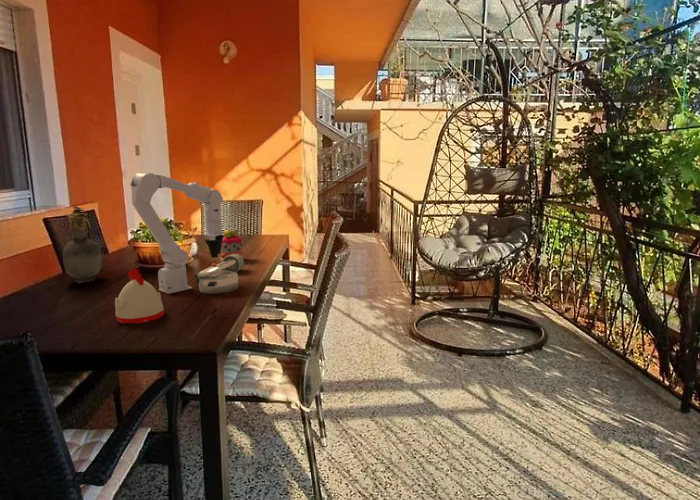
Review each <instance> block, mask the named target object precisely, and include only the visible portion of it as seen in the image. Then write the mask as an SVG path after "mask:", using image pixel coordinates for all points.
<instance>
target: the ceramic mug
mask: <svg viewBox="0 0 700 500" xmlns="http://www.w3.org/2000/svg"><path fill="white" fill-rule="evenodd" d="M228 260H235V261H236V262H235V263H234V264H233V265H231V266H229V267H227V268H225V269H223V270H228V271H233V272H236V273H238V272H239V271H240V270H241V269H242V268H243V267H244V265H245V261H244V259H243V256H242V257H241V256H240V255H238V254H232V255H230V256H227V257H225V258H224V259H223V261H222V262H225V261H228ZM222 262H221V263H222ZM221 271H222V270H221Z"/></svg>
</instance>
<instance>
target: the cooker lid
mask: <svg viewBox="0 0 700 500" xmlns="http://www.w3.org/2000/svg"><path fill="white" fill-rule="evenodd" d="M235 262H236V261H235V260H228V261H225V262H219V263H218V264H217V262H214V263H211V266H209V267H207V268H205V269H203V270H199V271H198V272H196V273H195V274H194V277H195V278H196V277H203V276H207V275H210V274H213V273H216V272H218V271H221V270H223V269H225V268H227V267H229V266H231V265H233V264H234V263H235Z"/></svg>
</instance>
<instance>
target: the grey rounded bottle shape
mask: <svg viewBox="0 0 700 500" xmlns="http://www.w3.org/2000/svg"><path fill="white" fill-rule="evenodd" d="M87 215H88V213H87V211H86V210H84V209H83V208H82V207H78V206H73V211H72V212H71V214H65V217H66V218H68V220H69V222H70V224H69V225H70V231H71V233H72V240H71V241H69V242H68V243H67V242H66V245H65V246H64V247H63V250H62V260H63V267H64V270H65V272H66V274H67V275H69V276H70V277H73V278H75V281H74V282H75V283H76V282H78V283H77V284H84V283H83V282H88V283H91V282H90V281H92V282H94V281H96V280H95V279H97V277H96V275H98V273H99V272H100V270H101V268H102V252H101V248H100V245H99V244H98V242H96V241H95V240H91V236H92V235H91V233H92V231H91V224H90V222H89V219H88V218H87V217H86V216H87Z"/></svg>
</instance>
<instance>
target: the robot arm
mask: <svg viewBox="0 0 700 500" xmlns="http://www.w3.org/2000/svg"><path fill="white" fill-rule="evenodd" d="M129 185H130V188H131V203H132V206H133V207H134V209H135V211H136V212H137V213H138V215H139V217H140V218H141V220H142V222H144V225H145V226H146V228H147V229H148V230H149V232H150V234H151V235H152V237H153V239H154V240H155V242H156V243H157V245H158V250H159V252H160V255H161V259H162V261H163V262H164V267H162V268H159V270H158V272H157V278H158V287H159V288H158V291H160V292H162V293H165V294H173V293H178V292H179V293H180V292H183V291H187V290H191V289H193V287H192V286H190V285H188V278H187V267H186V263H187V262H188V258H189V257H188V254H187V251H185V250H183V249H182V248H181V247H180V245H179V244H178V243H177V242H176V241H175V240H173V238H172V237H171V235H170V233H169V231H168V230H167V228H166V226H165V225H164V223H163V222H162V220H161V218H160V217H159V215H158V213H157V211H156V210H155V209H154V208H153V206H152V203H151V201H152V197H153V196H154V195H155V194H156V192H157V190H158V189H164V188H167V189H171V190H174V191H178V192H181V193H184V195H185V197H186V198H189V199H192V200H195V201H199V202H201V203H203V204H204V213H205V227H206V233H205V234H206V236H208V238H207V239H205V240H204V242H205V244H206V245H207V247H208V250H209V254H210V257H211V258H214V259H215V258H218V256H219V255H220V251H221V243H222V239H223V237H224V234H225V231H226V230H224V231H223V228H222V210H221V204H222V202H223V200H224V197H223V196H222V194H221V192H220V191H218V190H217V189H211V188H210V187H209V186H203V185H200V184H199V182H197V181H194V182H189V183H185V182H181V181H178V180H176V179H174V178H171V177H168V176H165V175H162V174H155V173H153V172H146V173H145V172H138V173H135V174H134V175H133V177H132V179H131V182H130V184H129Z"/></svg>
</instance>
